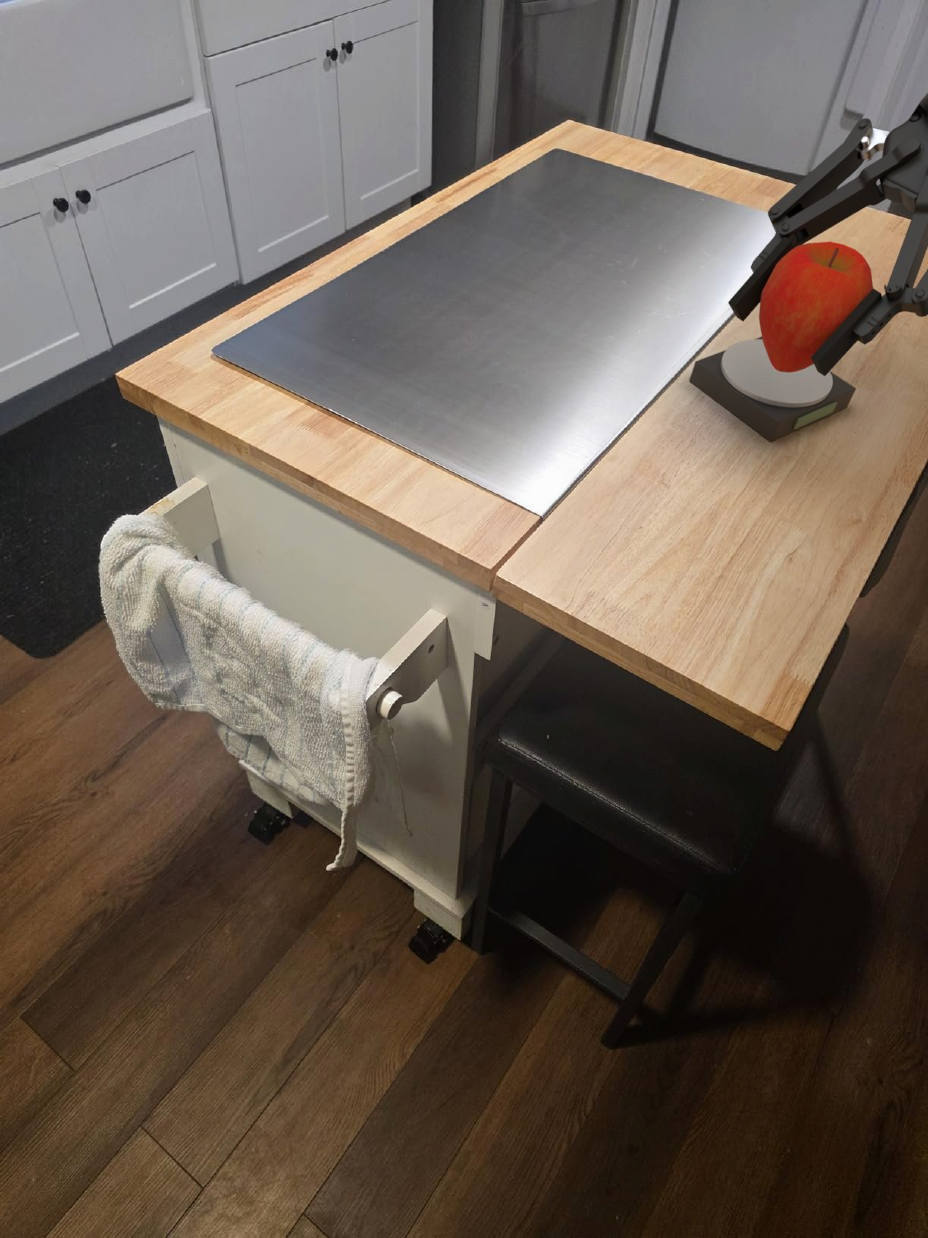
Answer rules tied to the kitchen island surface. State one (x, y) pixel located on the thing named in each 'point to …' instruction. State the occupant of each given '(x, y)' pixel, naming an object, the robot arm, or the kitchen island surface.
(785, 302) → the apple
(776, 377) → the kitchen scale
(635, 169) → the kitchen island surface
